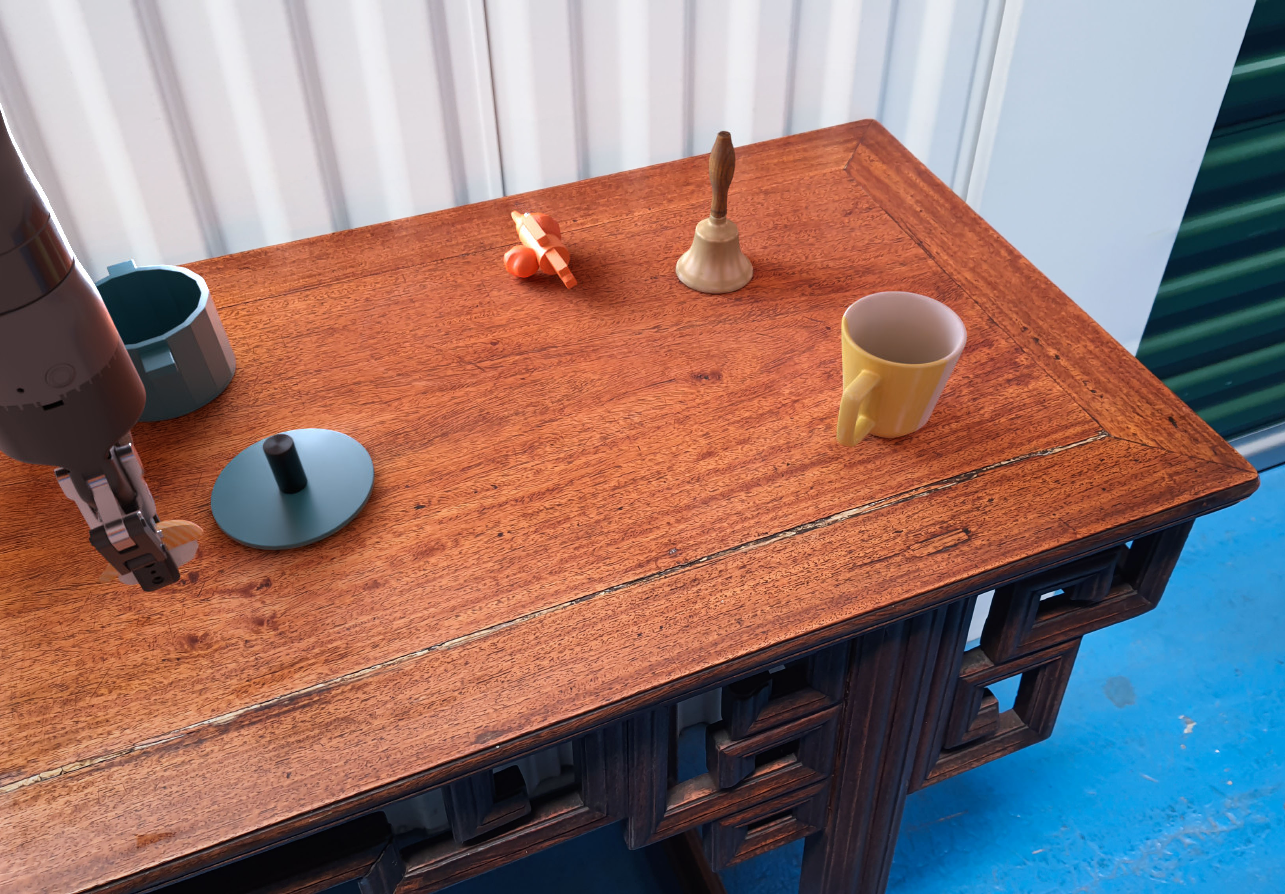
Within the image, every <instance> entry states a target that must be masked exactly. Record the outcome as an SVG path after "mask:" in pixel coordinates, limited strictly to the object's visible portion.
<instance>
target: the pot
mask: <svg viewBox="0 0 1285 894" xmlns="http://www.w3.org/2000/svg"><path fill="white" fill-rule="evenodd" d="M106 270H107V273H108V275H106V276H105V277H103V278H101V279H99V280H97V281H95V282H93V283H94V285H95V287H96V288H97V290H98V292H99V294H100V296H101V298H102V300H103V302H104V304H105V306H106V308H107V310H108V313H109V315H110V317H111V319H112V321H113V323H114V325H115V327H116V329H117V331H118V333H119V335H120V337H121V339H122V341H123V344H124V346H125V348H126V350H127V352H128V354H129V356H130V358H131V360H132V362H133V364H134V366H135V369H136V371H137V373H138V375H139V377H140V379H141V381H142V383H143V385H144V388H145V393H146V402H145V407H144V410H143V412H142V414H141V416H140V418H139V420H138V421H137V423H139V422H141V423H150V422H151V423H153V422H160V421H167V420H172V419H175V418H180V417H183V416H185V415H188V414H190V413H193V412H195V411H197V410H199V409H201V408H202V407H205V406H206V405H207V404H210V402H212V401H213V400H215V399H216V398H217V397H219V396H220V395H221V394H222V393H223V392H224V391H225V389H226V388H227V387H229V385H230V383H231V382H232V380H233V378H234V376H235V373H236V367H237V361H236V355H235V353H234V350H233V348H232V345H231V342H230V339H229V337H228V335H227V332H226V330H225V327H224V325H223V322H222V320H221V317H220V315H219V312H218V310H217V307H216V305H215V302H214V300H213V296H212V294H211V292H210V290H209V288H208V285H207V283H206V282H205V279H204V278H203V277H202V276H200V275H199V274H197V273H195V272H193V271H192V270H191V269H189V268H186V267H181V266H174V265H167V264H159V265H156V264H155V265H146V266H136V263H135V261H134V259H129V260H126V261H122V262H119V263H115V264H112V265H109V266H106Z"/></svg>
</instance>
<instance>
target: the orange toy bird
mask: <svg viewBox="0 0 1285 894" xmlns="http://www.w3.org/2000/svg"><path fill="white" fill-rule="evenodd" d="M510 214H511V218H512V220H513V222H514V223H515V228H516V233H517V235H518V238H519V240H520V242H521V243H522V245H521V244H519V245H514V246H513V247H512V248H511V249H509V250H508V251H507V252H505V253H504V255H503V262H504V267H505V271H507V272H508V273H509V274H511V275H512V276H514V277H519V278H528V277H531V276H533V275H535V274H536V273H537V272H538V271H539V269H540V270H541V271H542V272H543V273H544V274H546V275H548V276H553V275H558V277H559V279H560V280H561V281H562V282H563V284H564V285H565V287H566V288H567V289H568V290H570V289H572V288H573V287H575V286H577V285H578V282H577V280H576V278H575V276H574V274H573V273H572V272H571V270H570V267H568V265H569V263H570V260H571V254H570V252H569V250H568V248H567V247H565V244H564V243H562V241H561V240H562V232H561V227H560V224H559V222H558V221H557V220H556V219H554V218H553V217H552V216H550V215H548V214H545V213H543V212H532V213H530V212H525V213H520V212H518V211H516V210H513V211H512V212H511V213H510Z"/></svg>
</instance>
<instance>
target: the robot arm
mask: <svg viewBox="0 0 1285 894" xmlns="http://www.w3.org/2000/svg"><path fill="white" fill-rule="evenodd" d="M9 127H10V126H9V125H8V122H7V118H6V116H5V112H4V110H3V107H2V104H0V451H1V452H2V453H3V454H4V455H5V456H7V457H9V458H11V459H13V460H15V461H18V462H20V463H24V464H27V465H38V466H51V467H55V468H54V469H53V473H54V477H55V479H56V481H57V483H58V485H59V487H60V488H61V490H62V492H63V494H64V495H65V497H66V498H67V499H69V500H71V501H74V502H75V505H76V506H77V508H78V510H79V511H80V513H81V515H82V516H83V519H84V520H85V522H86V523H87V525H88V527H89V529H88V535H89V537H88V541H89V544H90V545H91V547H92V548H93V547H94V549H95V550H96V552H98V553H99V554H100V556H102V558H104V559H105V561H107V562H108V563H110V564H111V565H112V566H113V567H114V568H115V569H116V570H117V571H118V572H119V573H120V574H121V575H122V576H123V575H125V574H128V573H131V571H132V573H133V575H134V576H135V578H136V580H137V581H138V583H139V584H138V585H139V586H140V588H141V589H142V591H143V592H146V593H153V592H155V591H158V590H161V589H163V588H165V587H168V586H170V585H173V584H175V583H178V581H180V579H181V573H180V571H179V567H177V565H176V563H175V561H174V560H173V558H172V556H171V554H170V552H169V550H168V549H167V547H166V545H165V543H164V541H163V539H162V538H164V535H163V533H162V531H161V530H159V529H158V527H157V525H156V523H159V522H162V521H161V519H160V517H159V515H158V513H157V507H156V503H155V500H154V497H153V495H152V492H151V491H150V488H149V486H148V484H147V482H146V481H145V478H144V475H145V474H146V473H145V468H144V466H143V462H142V460H141V457H140V454H139V453H138V451H137V449H136V448H135V446H134V438H133V436H132V433H131V430H132V429H133V428H134V426H135V425H136V424H137V423H138V420H139V418H140V416H141V414H142V412H143V410H144V407H145V402H146V393H145V388H144V385H143V383H142V381H141V379H140V377H139V375H138V373H137V371H136V369H135V366H134V364H133V362H132V360H131V358H130V356H129V354H128V352H127V350H126V348H125V346H124V344H123V341H122V339H121V337H120V335H119V333H118V331H117V329H116V327H115V325H114V323H113V321H112V319H111V317H110V315H109V313H108V310H107V308H106V306H105V304H104V302H103V300H102V298H101V296H100V294H99V292H98V290H97V288H96V287H95V285H94V283H95V282H93V280H92V279H91V277H90V276H89V274H88V273H87V271H86V270H85V269H84V267H83V265H82V264H81V263H80V262H79V260H78V259H77V256H76V254H75V253H74V251H73V250H72V248H71V246H70V244H69V242H68V241H69V240H68V239H67V237H66V235H65V234H64V231H63V229H62V227H61V225H60V223H59V221H58V219H57V217H56V215H55V213H54V211H53V209H52V206H51V204H50V203H49V200H48V197H47V196H46V194H45V192H44V191H43V189H42V186H41V185H40V183H39V181H38V180H37V179H36V177H35V176H34V174H33V172H32V170H31V169H30V167H29V165H28V164H27V162H26V160H25V157H23V154H22V153H21V151H20V149H19V147H18V145H17V143H16V141H15V139H14V137H13V134H12V133H11V130H10V128H9ZM56 467H57V468H56Z"/></svg>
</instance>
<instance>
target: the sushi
mask: <svg viewBox="0 0 1285 894" xmlns="http://www.w3.org/2000/svg"><path fill="white" fill-rule="evenodd" d="M156 525H157V527H158V529H159V530H161V531H162V533H163V535H164V538H162V539H163V541H164V543H165V545H166V547H167V549H168V550H169V552H170V554H171V556H172V558H173V560H174V561H175V563H176V565H177V567H178V568H180V567H182V566H184V565H185V564H188V563H189V562H190V561H192V560H193V559H195V556H196V554H197V551H198V549H199V546H200V545H199V543H198V539H200V538H202V537H203V536H204V534H205V531H204V529H202V527H201V526H199V525H198V524H196V523H195V522H192V521H189V520H186V519H171V520H170V519H169V520H164V521H161V522H159V523H156ZM115 579H118V581H119V582H120V583H123V584H124V585H126V586H127V585H128V586H136V585H140V584H139V583H138V581H137V580H136V578H135V576H134V575H133V573H132V571H131V573H128V574H125V575H123V576H122V575H121V574H120V573H119V572H118V571H117V570H116V569H115V568H114V567H113V566H112V565H111V564H110V563H109V562H108V563H107V565H106V567H105V569H104V570H103V571H102V573H101V574H100V575H99V577H98V581H99V583H100V584H102V585H104V584H107V583H110V582H111V581H114V580H115Z"/></svg>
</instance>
